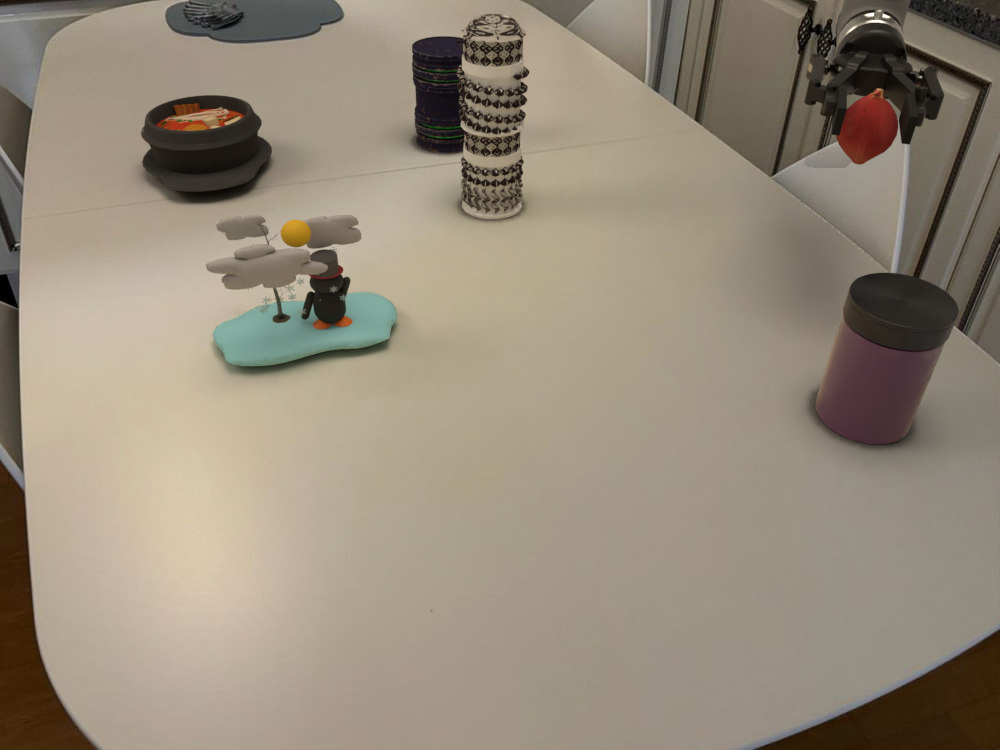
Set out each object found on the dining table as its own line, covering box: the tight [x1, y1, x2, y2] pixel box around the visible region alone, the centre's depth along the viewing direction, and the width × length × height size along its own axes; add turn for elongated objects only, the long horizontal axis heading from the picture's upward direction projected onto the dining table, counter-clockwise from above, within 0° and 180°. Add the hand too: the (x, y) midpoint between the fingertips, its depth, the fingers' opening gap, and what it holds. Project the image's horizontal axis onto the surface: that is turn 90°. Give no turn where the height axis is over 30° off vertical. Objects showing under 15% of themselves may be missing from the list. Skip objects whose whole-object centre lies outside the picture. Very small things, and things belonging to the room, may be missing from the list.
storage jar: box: [411, 35, 465, 154], centre depth 133 cm, size 10×10×15 cm
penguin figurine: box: [205, 214, 398, 367], centre depth 89 cm, size 20×11×15 cm, turn 106°
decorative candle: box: [457, 13, 530, 220], centre depth 112 cm, size 9×9×25 cm
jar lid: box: [842, 272, 960, 351], centre depth 77 cm, size 9×9×2 cm
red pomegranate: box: [835, 89, 899, 165], centre depth 87 cm, size 6×6×8 cm
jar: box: [814, 314, 946, 445], centre depth 81 cm, size 9×9×13 cm
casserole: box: [140, 94, 273, 193], centre depth 126 cm, size 25×19×8 cm
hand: (874, 125), depth 82 cm, fingers closed on red pomegranate, 6 cm apart
